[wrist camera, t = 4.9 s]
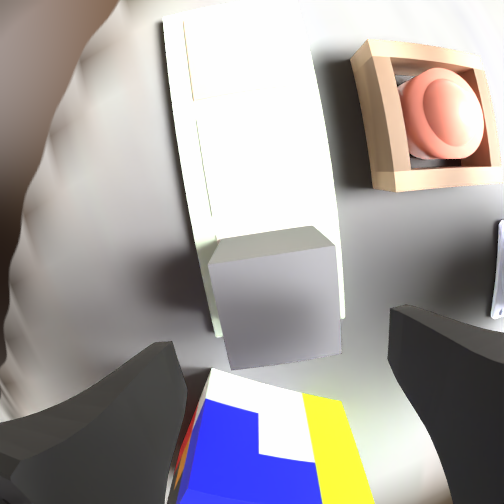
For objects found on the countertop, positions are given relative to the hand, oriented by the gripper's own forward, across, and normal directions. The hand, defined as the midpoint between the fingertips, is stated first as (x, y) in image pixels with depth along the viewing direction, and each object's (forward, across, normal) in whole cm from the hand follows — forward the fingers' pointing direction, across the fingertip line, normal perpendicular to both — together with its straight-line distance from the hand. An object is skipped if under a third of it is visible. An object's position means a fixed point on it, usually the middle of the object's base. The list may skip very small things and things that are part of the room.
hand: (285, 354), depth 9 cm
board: (+9, 0, -6) cm, 11 cm away
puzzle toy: (+9, +3, +13) cm, 16 cm away
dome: (+8, -11, -8) cm, 16 cm away
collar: (+9, -11, -8) cm, 16 cm away
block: (+8, 0, 0) cm, 8 cm away
